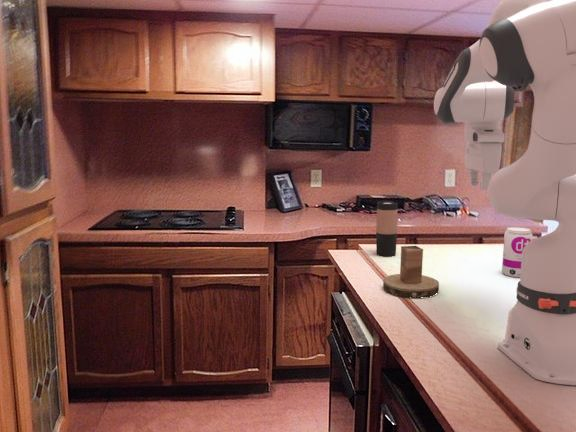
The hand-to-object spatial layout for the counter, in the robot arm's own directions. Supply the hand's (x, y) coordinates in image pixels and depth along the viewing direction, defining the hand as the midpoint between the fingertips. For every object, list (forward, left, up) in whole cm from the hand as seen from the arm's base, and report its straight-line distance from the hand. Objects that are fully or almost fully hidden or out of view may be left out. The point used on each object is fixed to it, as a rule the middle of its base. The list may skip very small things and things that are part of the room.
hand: (479, 187), depth 134 cm
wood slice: (+7, +16, -32) cm, 36 cm away
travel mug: (+49, +19, -31) cm, 61 cm away
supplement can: (+25, -20, -31) cm, 45 cm away
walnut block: (+7, +16, -29) cm, 34 cm away
